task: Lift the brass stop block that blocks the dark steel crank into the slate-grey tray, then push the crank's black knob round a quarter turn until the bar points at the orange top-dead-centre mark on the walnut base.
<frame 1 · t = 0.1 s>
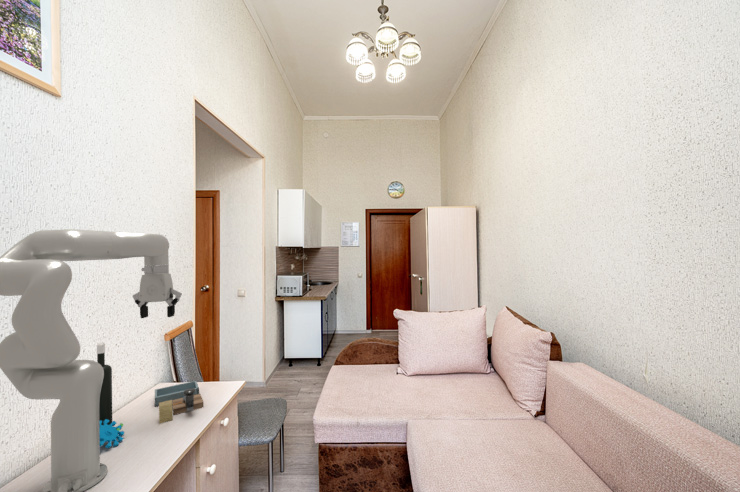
hand: (157, 317, 119), 37 cm above the table, tool pointing down, fingers open, 9 cm apart
wine bottle: (101, 431, 111), on the table
tray: (176, 397, 137), on the table
crank: (188, 395, 124), point 6 cm above the table, hinge at 90.0°
crank base: (187, 406, 128), on the table
blue lobed piece: (108, 445, 103), on the table
stop block: (165, 419, 118), on the table
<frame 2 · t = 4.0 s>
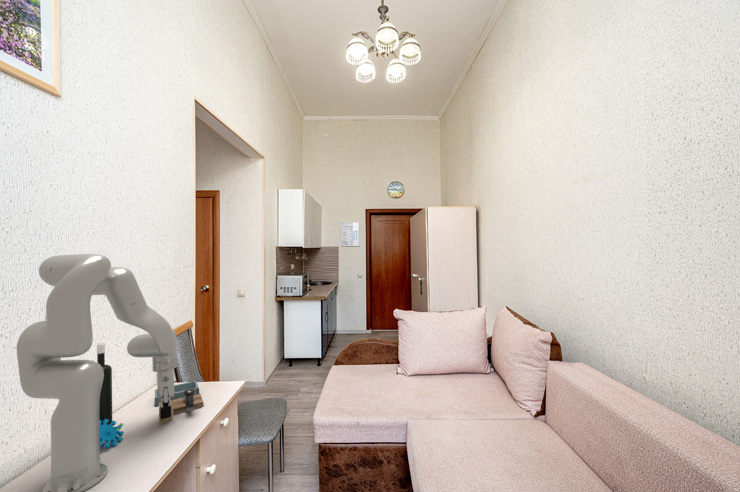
hand: (165, 414, 118), 2 cm above the table, tool pointing down, fingers closed on stop block, 4 cm apart
stop block: (165, 419, 118), on the table, touching gripper
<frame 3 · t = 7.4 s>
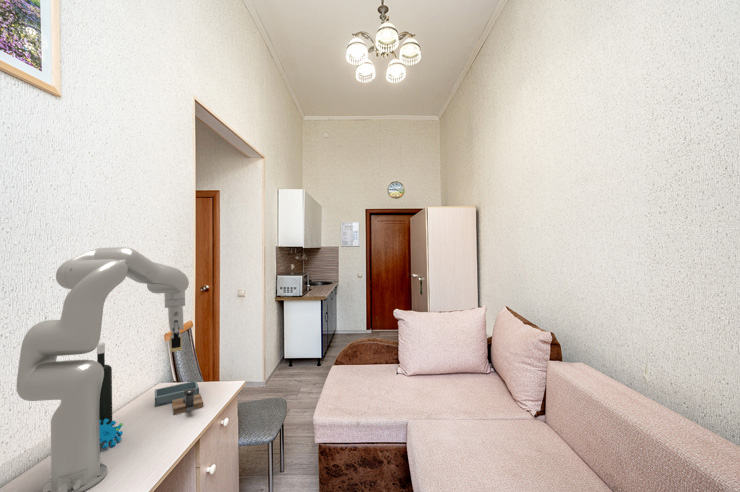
hand: (175, 345, 138), 22 cm above the table, tool pointing down, fingers closed on stop block, 4 cm apart
stop block: (176, 350, 138), point 20 cm above the table, touching gripper
when the fingers open (4 cm above the table, at t = 11.0 s): stop block drops 2 cm, resting on tray.
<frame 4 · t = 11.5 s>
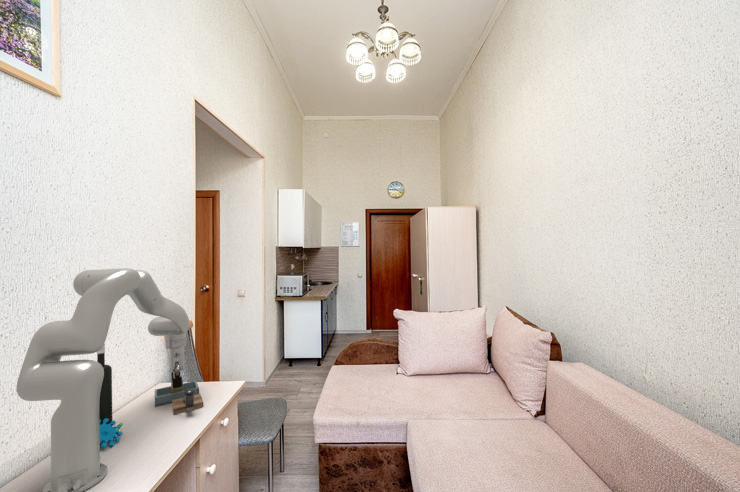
hand: (176, 383, 137), 6 cm above the table, tool pointing down, fingers open, 9 cm apart
stop block: (177, 395, 137), point 1 cm above the table, touching tray
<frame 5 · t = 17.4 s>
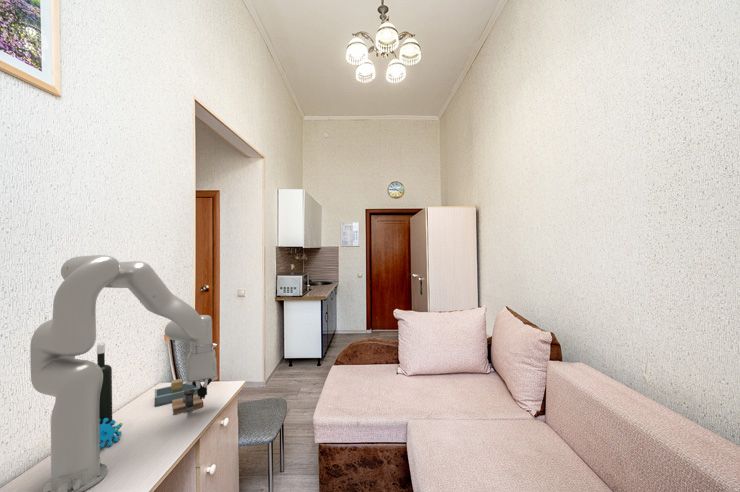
hand: (202, 397, 122), 6 cm above the table, tool pointing down, fingers closed
crank: (188, 395, 124), point 6 cm above the table, hinge at 89.3°, touching gripper
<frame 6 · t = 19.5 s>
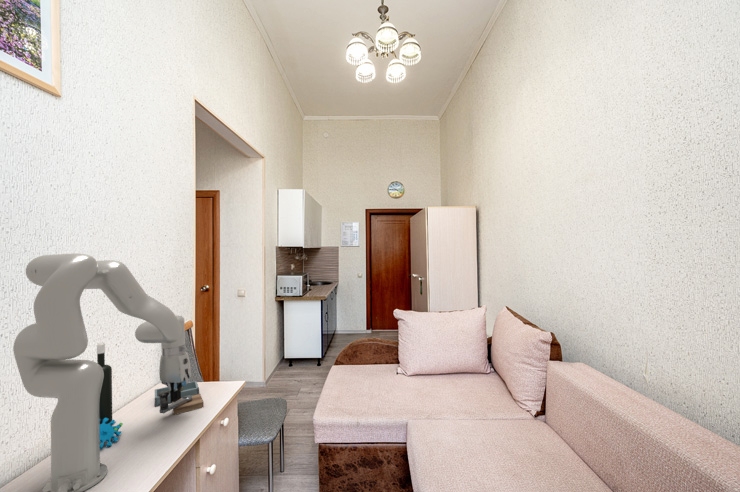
hand: (175, 400, 119), 6 cm above the table, tool pointing down, fingers closed
crank: (176, 396, 123), point 6 cm above the table, hinge at 37.7°, touching gripper
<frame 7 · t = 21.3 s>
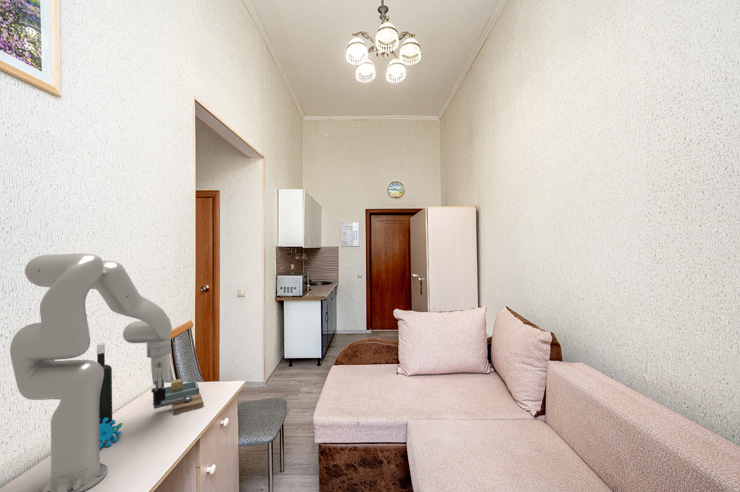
hand: (160, 400, 120), 6 cm above the table, tool pointing down, fingers closed
crank: (172, 394, 126), point 6 cm above the table, hinge at -2.2°, touching gripper
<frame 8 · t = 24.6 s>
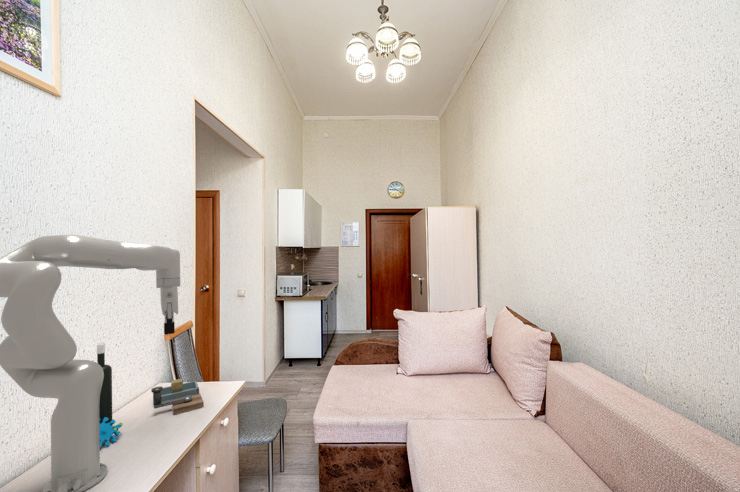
hand: (169, 333, 118), 31 cm above the table, tool pointing down, fingers closed
crank: (172, 394, 126), point 6 cm above the table, hinge at -2.4°
at the end: stop block inside the target area on the tray (0.1 cm from its centre), point 0.8 cm above the tray's base; stop block tilted 0°; crank at -2° (first picture: +90°) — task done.
